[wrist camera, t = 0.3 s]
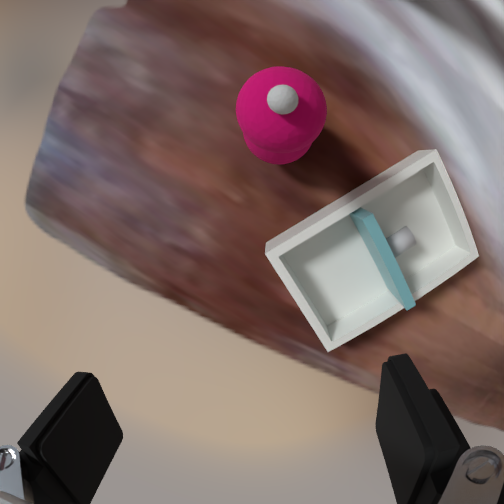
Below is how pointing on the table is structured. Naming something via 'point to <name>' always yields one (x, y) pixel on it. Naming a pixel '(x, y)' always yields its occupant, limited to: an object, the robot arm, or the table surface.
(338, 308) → the white tray
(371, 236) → the pusher
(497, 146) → the table surface
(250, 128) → the pepper mill
